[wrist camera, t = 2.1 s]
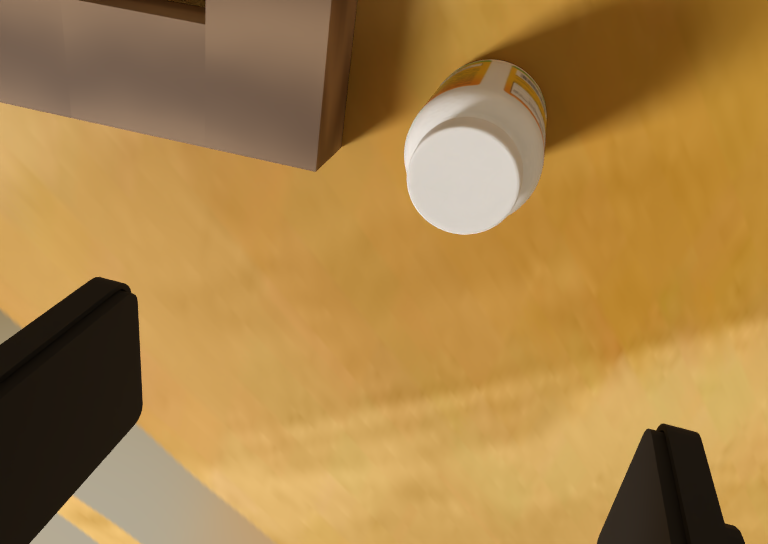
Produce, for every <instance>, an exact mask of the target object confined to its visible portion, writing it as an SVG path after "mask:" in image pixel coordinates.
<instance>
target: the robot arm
mask: <svg viewBox="0 0 768 544" xmlns="http://www.w3.org/2000/svg"><path fill="white" fill-rule="evenodd" d="M142 405H143V401H142V381H141V360H140V340H139V319H138V301H137V297H136V295H134V294H132V293H131V290H130V288H129V286H128V285H126V284H124V283H120V282H117V281H113V280H109V279H105V278H101V277H95V278H93V279H91V280H90V281H88V282H87V283H86V284H84V285H83V286H81V287H80V288H79V289H77V290H76V291H74V292H73V293H72V294H70V295H69V296H67V297H66V298H65V299H63V300H62V301H61V302H59V303H58V304H56V305H55V306H54V307H52V308H51V309H49V310H48V311H47V312H45V313H44V314H42V315H41V316H40V317H38V318H37V319H35V320H34V321H33V322H31V323H30V324H28V325H27V326H26V327H24V328H23V329H22V330H20V331H19V332H17V333H16V334H15V335H14V336H12V337H11V338H9V339H8V340H6V341H5V342H4V343H2V344H1V345H0V544H29V543H30V542H31V541H32V540H33V539H34V538H35V537H36V536H37V534H38V533H39V532H40V531H41V530H42V529H43V528H44V526H45V525H46V524H47V523H48V522H49V521H50V520H51V519H52V517H53V516H54V515H55V514H56V513H57V512H58V511H59V510H60V508H61V507H62V506H63V505H64V504H65V503H66V502H67V500H68V499H69V498H70V497H71V496H72V495H73V494H74V493H75V491H76V490H77V489H78V488H79V487H80V486H81V485H82V484H83V482H84V481H85V480H86V479H87V478H88V477H89V476H90V475H91V473H92V472H93V471H94V470H95V469H96V468H97V466H98V465H99V464H100V463H101V462H102V461H103V460H104V459H105V458H106V456H107V455H108V454H109V453H110V452H111V450H112V449H113V448H114V447H115V446H116V445H117V444H118V443H119V442H120V441H121V439H122V438H123V437H124V436H125V435H126V434H127V433H128V432H129V430H130V429H131V428H132V427H133V426H134V425H135V423H136V422H137V421H138V419H139V417H140V414H141V411H142ZM597 544H745V542H744V539H743V537H742V534H741V532H740V531H739V530H738V529H737V528H736V527H735V526H732V525H729V524H725V523H724V520H723V516H722V512H721V509H720V505H719V501H718V498H717V494H716V491H715V487H714V483H713V480H712V476H711V473H710V469H709V465H708V462H707V458H706V454H705V451H704V447H703V444H702V440H701V437H700V435H699V434H698V433H697V432H694V431H690V430H686V429H682V428H679V427H675V426H671V425H667V424H661V425H660V426H659V427H658V428H657V430H656V431H655V430H652V429H647V430H646V431H645V432H644V434H643V436H642V438H641V441H640V443H639V445H638V448H637V450H636V452H635V455H634V457H633V459H632V461H631V464H630V466H629V468H628V471H627V473H626V475H625V478H624V480H623V482H622V484H621V487H620V489H619V491H618V494H617V496H616V498H615V501H614V503H613V505H612V507H611V510H610V512H609V514H608V517H607V519H606V521H605V524H604V526H603V528H602V531H601V533H600V535H599V538H598V541H597Z"/></svg>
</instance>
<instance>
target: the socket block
mask: <svg viewBox="0 0 768 544" xmlns="http://www.w3.org/2000/svg"><path fill="white" fill-rule="evenodd" d="M356 8H357V0H206V8H204V7H199V6H194V5H188V4H183V3H178V2H172V1H167V0H0V102H2V103H6V104H11V105H15V106H20V107H24V108H29V109H33V110H38V111H42V112H47V113H51V114H56V115H61V116H65V117H70V118H74V119H79V120H83V121H88V122H92V123H97V124H101V125H106V126H110V127H115V128H120V129H124V130H129V131H133V132H138V133H142V134H147V135H151V136H156V137H160V138H165V139H169V140H174V141H179V142H183V143H188V144H192V145H197V146H201V147H206V148H210V149H215V150H219V151H224V152H228V153H233V154H238V155H242V156H247V157H251V158H256V159H260V160H265V161H269V162H274V163H278V164H283V165H287V166H292V167H297V168H301V169H306V170H310V171H315V172H316V171H317V170H318V169H319V168H320V167H321V166H322V165H323V164H324V163H325V162H326V161H327V160H329V159H330V158H331V157H332V156H333V155H334V154H335V153H336V152H337V151H338V150H339V149H340V148H341V144H342V135H343V126H344V117H345V108H346V99H347V90H348V81H349V71H350V62H351V53H352V44H353V35H354V26H355V17H356Z"/></svg>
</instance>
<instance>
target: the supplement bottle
mask: <svg viewBox="0 0 768 544" xmlns="http://www.w3.org/2000/svg"><path fill="white" fill-rule="evenodd" d="M546 125H547V113H546V105H545V101H544V98H543V95H542V92H541V90H540V88H539V86H538V85H537V83H536V82H535V81H534V79H533V78H532V77H531V76H530V75H529V74H528V73H526V72H525V71H524V70H523V69H521V68H520V67H518V66H516V65H514V64H511V63H509V62H506V61H501V60H494V59H488V60H479V61H475V62H472V63H469V64H466V65H464V66H462V67H461V68H459V69H457V70H456V71H455V72H453V73H452V74H451V75H450V76H449V77H448V78H447V79H446V80H445V81H444V82H443V83H442V84H441V86H440V87H439V88H438V89H437V91H436V92H435V93H434V95H433V96H432V97H431V98H430V99H429V101H428V102H427V103H426V104H425V106H424V107H423V108H422V109H421V111H420V112H419V113H418V115H417V116H416V118H415V119H414V121H413V123H412V125H411V127H410V129H409V132H408V135H407V138H406V142H405V149H404V161H405V168H406V172H407V187H408V192H409V195H410V198H411V200H412V202H413V204H414V206H415V208H416V209H417V211H418V212H419V213H420V214H421V215H422V216H423V217H424V218H425V219H426V220H427V221H428V222H429V223H431V224H432V225H434V226H435V227H437V228H439V229H441V230H444V231H446V232H450V233H455V234H476V233H480V232H483V231H486V230H489V229H491V228H493V227H494V226H496V225H498V224H499V223H500V222H502V221H503V220H504V219H505V218H506V217H507V216H508V215H510V214H512V213H513V212H515V211H516V210H517V209H519V208H520V207H521V206H522V205H523V204H524V203H525V202H526V201H527V200H528V199H529V197H530V196H531V194H532V193H533V191H534V190H535V188H536V186H537V184H538V181H539V179H540V176H541V172H542V168H543V163H544V151H545V138H546Z"/></svg>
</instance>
